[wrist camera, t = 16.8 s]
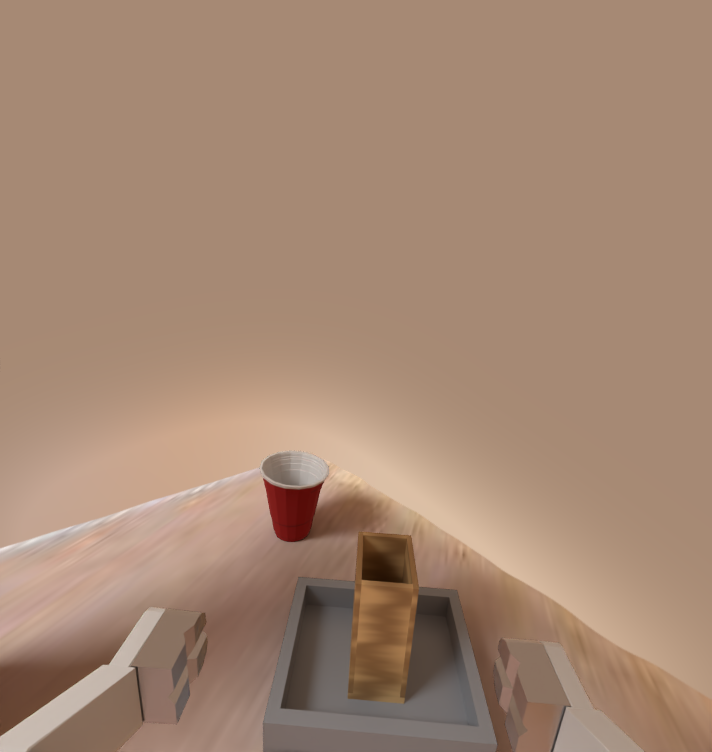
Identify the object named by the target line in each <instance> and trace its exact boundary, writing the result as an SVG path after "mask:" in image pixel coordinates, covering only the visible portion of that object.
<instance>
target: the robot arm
mask: <svg viewBox="0 0 712 752" xmlns="http://www.w3.org/2000/svg"><path fill="white" fill-rule="evenodd" d="M205 624H206V616H205V613H202V612H194V611H185V610H177V609H167V608H157V607H150V608H149V609H147V610H146V611H145V612H144V614H143V615H142V616H141V618H140V619H139V621H138V622H137V624H136V625H135V627H134V628H133V630H132V631H131V633H130V634H129V636H128V637H127V639H126V640H125V642H124V643H123V645H122V646H121V647H120V649H119V650H118V652H117V653H116V655H115V656H114V658H113V659H112V661H111V662H110V664H109V665H102V666H100V667H99V668H98V669H96V670H95V671H93V672H92V673H90V674H89V675H88V676H86V677H85V678H83V679H82V680H80V681H79V682H78V683H76V684H75V685H73V686H72V687H70V688H69V689H68V690H66V691H65V692H63V693H62V694H60V695H59V696H58V697H56V698H55V699H53V700H52V701H50V702H49V703H47V704H46V705H45V706H43V707H42V708H40V709H39V710H37V711H36V712H35V713H33V714H32V715H30V716H29V717H27V718H26V719H25V720H23V721H22V722H20V723H19V724H17V725H16V726H15V727H13V728H12V729H10V730H9V731H7V732H6V733H5V734H3V735H2V736H0V752H116V751H117V750H118V749H119V748H120V747H121V746H122V745H123V744H124V743H125V742H126V741H127V740H128V739H129V738H130V737H131V736H132V735H133V734H134V733H135V732H136V731H137V730H138V729H139V728H140V727H141V726H142V725H143V722H146V723H163V724H177V723H178V721H179V719H180V716H181V714H182V712H183V710H184V707H185V705H186V703H187V700H188V698H189V696H190V690H189V684H190V683H191V682H192V681H193V680H195V679H196V678H197V677H198V675H199V673H200V670H201V668H202V666H203V662H204V659H205V655H206V650H207V635H206V634H205V632H204V631H203V628H204V626H205ZM498 650H499V653H500V657H499V658H498V659H497V660H495V665H494V686H495V691H496V695H497V699H498V703H499V705H500V706H501V707H502V708H503V710H504V711H505V712H506V713H507V716H506V721H505V727H506V730H507V734H508V737H509V740H510V744H511V747H512V750H513V752H645V751H644V750H643V749H642V748H641V747H639V746H638V745H637V744H636V743H635V742H634V741H633V740H632V739H631V738H630V737H629V736H628V735H627V734H626V733H625V732H624V731H622V730H621V729H620V728H619V727H618V726H617V725H616V724H615V723H614V722H613V721H612V720H611V719H610V718H609V717H608V716H606V715H605V714H604V713H603V712H602V711H601V710H596V709H594V707H593V705H592V703H591V701H590V699H589V697H588V695H587V693H586V691H585V690H584V688H583V686H582V684H581V682H580V680H579V678H578V676H577V674H576V672H575V670H574V668H573V666H572V664H571V662H570V660H569V658H568V656H567V654H566V652H565V650H564V649H563V647H562V645H561V644H560V643H559V642H547V641H537V640H526V639H512V638H501V640H500V641H499V645H498Z"/></svg>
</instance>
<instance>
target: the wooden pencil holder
mask: <svg viewBox="0 0 712 752" xmlns="http://www.w3.org/2000/svg"><path fill="white" fill-rule="evenodd" d="M418 593H419V586H418V579H417V572H416V565H415V559H414V552H413V545H412V538H411V536H409V535H397V534H384V533H371V532H359V534H358V548H357V562H356V576H355V589H354V603H353V617H352V631H351V647H350V665H349V682H348V699H357V700H368V701H379V702H390V703H401V704H404V701H405V693H406V685H407V678H408V670H409V662H410V654H411V647H412V639H413V631H414V624H415V616H416V608H417V600H418Z"/></svg>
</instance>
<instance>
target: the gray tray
mask: <svg viewBox="0 0 712 752" xmlns="http://www.w3.org/2000/svg"><path fill="white" fill-rule="evenodd" d="M354 589H355V582H354V581H342V580H330V579H318V578H306V577H298V581H297V585H296V589H295V594H294V598H293V602H292V606H291V610H290V614H289V618H288V622H287V626H286V630H285V635H284V639H283V643H282V647H281V651H280V655H279V659H278V663H277V667H276V671H275V676H274V680H273V684H272V688H271V692H270V696H269V700H268V704H267V708H266V712H265V716H264V721H263V752H496V749H497V745H498V744H497V741H496V737H495V733H494V729H493V725H492V722H491V718H490V714H489V710H488V706H487V703H486V699H485V695H484V691H483V687H482V684H481V680H480V676H479V672H478V668H477V665H476V661H475V657H474V653H473V649H472V646H471V642H470V638H469V634H468V630H467V627H466V623H465V619H464V615H463V611H462V607H461V604H460V600H459V596H458V592H457V590H450V589H438V588H426V587H419V593H418V600H417V608H416V616H415V624H414V631H413V639H412V647H411V654H410V662H409V670H408V678H407V685H406V693H405V701H404V704H401V703H390V702H379V701H368V700H357V699H348V682H349V665H350V647H351V631H352V617H353V603H354Z"/></svg>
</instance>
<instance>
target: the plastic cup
mask: <svg viewBox="0 0 712 752" xmlns="http://www.w3.org/2000/svg"><path fill="white" fill-rule="evenodd" d="M259 469H260V472H261V474H262V476H263V480H264V484H265V487H266V492H267V498H268V503H269V509H270V514H271V517H272V522H273V527H274V530H275V533H276V535H277V537H278V538H280V539H281V540H284V541H287V542H295V541H299V540H302V539H303V538H305V537H306V536H307V535H308V533H309V532H310V529H311V526H312V521H313V516H314V514H315V510H316V506H317V502H318V498H319V494H320V489H321V488H322V484H323V483H324V480H325V479H326V478H327V476H328V475H329V466H328V465H327V464H326V462H325V461H324V460H323V459H321V458H319V457H317V456H316V455H313V454H310V453H306V452H301V451H284V452H277V453H275V454H272V455H269V456H267V457H266V458H265V459H264V460H263V461H262V462H261V465H260V468H259Z"/></svg>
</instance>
